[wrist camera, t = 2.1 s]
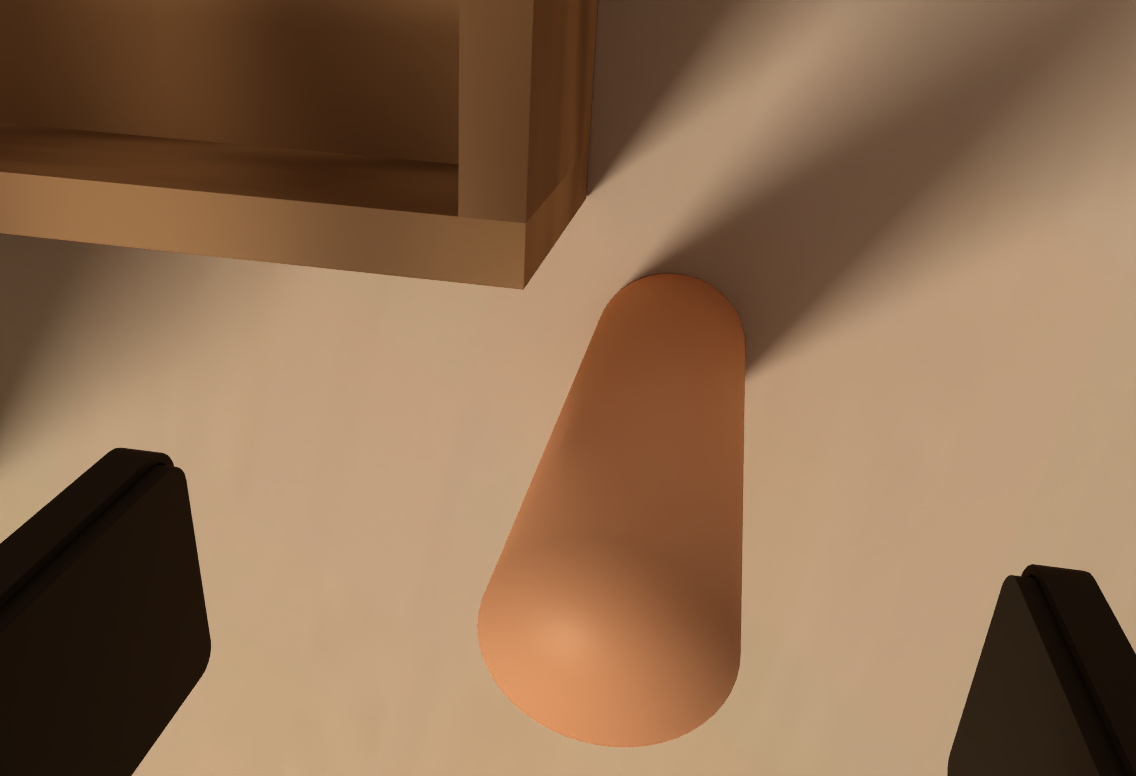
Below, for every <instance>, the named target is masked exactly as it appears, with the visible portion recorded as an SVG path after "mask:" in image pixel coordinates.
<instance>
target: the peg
mask: <svg viewBox="0 0 1136 776" xmlns="http://www.w3.org/2000/svg"><path fill="white" fill-rule="evenodd" d="M744 398H745V335H744V330H743V326H742V323H741V320H740V318H739V316H738V314H737V312H736V310H735V308H734V307H733V306H732V304H731V303H730V302H729V300H728V299H727V298H726V297H725V296H724V295H723V294H722V293H721V292H719V291H718V290H717V289H716V288H714V287H713V286H711V285H709V284H708V283H706V282H704V281H701V280H699V279H697V278H694V277H690V276H687V275H681V274H669V273H666V274H656V275H651V276H647V277H644V278H641V279H638V280H636V281H634V282H632V283H630V284H629V285H627V286H626V287H624V288H623V289H621V290H620V291H619V292H618V293H617V294H616V295H615V296H614V297H613V298H612V299H611V300H610V302H609V303H608V304H607V306H606V308H605V309H604V311H603V313H602V315H601V317H600V320H599V322H598V324H597V327H596V329H595V332H594V334H593V336H592V339H591V341H590V344H589V346H588V348H587V351H586V353H585V355H584V358H583V360H582V363H581V365H580V367H579V370H578V372H577V374H576V377H575V379H574V382H573V384H572V386H571V389H570V391H569V393H568V396H567V398H566V401H565V403H564V405H563V408H562V410H561V413H560V415H559V417H558V420H557V422H556V424H555V427H554V429H553V432H552V434H551V436H550V439H549V441H548V443H547V446H546V448H545V451H544V453H543V455H542V458H541V460H540V463H539V465H538V467H537V470H536V472H535V474H534V477H533V479H532V482H531V484H530V486H529V489H528V491H527V493H526V496H525V498H524V501H523V503H522V505H521V508H520V510H519V512H518V515H517V517H516V520H515V522H514V524H513V527H512V529H511V532H510V534H509V536H508V539H507V541H506V543H505V546H504V548H503V551H502V553H501V555H500V558H499V560H498V562H497V565H496V567H495V570H494V572H493V574H492V577H491V579H490V582H489V584H488V586H487V589H486V591H485V593H484V596H483V598H482V602H481V606H480V609H479V616H478V639H479V644H480V649H481V653H482V656H483V658H484V661H485V664H486V666H487V668H488V670H489V672H490V674H491V676H492V677H493V679H494V681H495V682H496V683H497V685H498V686H499V688H500V689H501V690H502V692H503V693H504V694H505V695H506V696H507V697H508V698H509V699H510V700H511V702H512V703H514V704H515V705H516V706H517V707H518V708H519V709H520V710H521V711H523V712H524V713H525V714H527V715H528V716H529V717H531V718H532V719H534V720H535V721H536V722H538V723H540V724H542V725H543V726H545V727H547V728H549V729H551V730H553V731H555V732H557V733H560V734H562V735H564V736H567V737H570V738H573V739H576V740H579V741H582V742H586V743H591V744H595V745H602V746H610V747H639V746H648V745H653V744H658V743H663V742H666V741H669V740H672V739H675V738H678V737H680V736H682V735H684V734H687V733H689V732H691V731H692V730H694V729H695V728H697V727H699V726H700V725H702V724H703V723H704V722H706V721H707V720H708V719H709V718H710V717H712V716H713V715H714V714H715V713H716V712H717V711H718V709H719V708H720V707H721V706H722V705H723V704H724V702H725V700H726V699H727V697H728V696H729V694H730V693H731V691H732V688H733V686H734V684H735V681H736V678H737V674H738V670H739V666H740V653H741V593H742V528H743V463H744Z"/></svg>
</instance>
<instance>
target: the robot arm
mask: <svg viewBox="0 0 1136 776" xmlns="http://www.w3.org/2000/svg"><path fill="white" fill-rule="evenodd" d="M210 652H211V640H210V633H209V627H208V620H207V613H206V607H205V600H204V594H203V587H202V581H201V574H200V567H199V561H198V554H197V548H196V541H195V534H194V528H193V521H192V515H191V508H190V501H189V495H188V488H187V482H186V477H185V474H184V472H183V471H182V469H180V468H178V467H174V464H173V462H172V460H171V459H170V457H169V456H168V455H166V454H164V453H158V452H151V451H143V450H135V449H127V448H115V449H113V450H112V451H110V452H108V453H107V454H106V455H105V456H104V457H102V458H101V459H100V460H99V461H98V462H96V463H95V464H94V465H93V466H92V467H91V468H89V469H88V470H87V471H86V472H85V473H83V474H82V475H81V476H80V477H79V478H78V479H76V480H75V481H74V482H73V483H72V484H70V485H69V486H68V487H67V488H66V489H65V490H63V491H62V492H61V493H60V494H59V495H57V496H56V497H55V498H54V499H53V500H52V501H50V502H49V503H48V504H47V505H46V506H44V507H43V508H42V509H41V510H40V511H39V512H37V513H36V514H35V515H34V516H33V517H31V518H30V519H29V520H28V521H27V522H26V523H24V524H23V525H22V526H21V527H20V528H18V529H17V530H16V531H15V532H14V533H12V534H11V535H10V536H9V537H8V538H7V539H5V540H4V541H3V542H2V543H1V544H0V776H131V775H132V774H133V773H134V771H135V770H136V768H137V767H138V766H139V764H140V763H141V761H142V760H143V759H144V757H145V756H146V754H147V753H148V751H149V750H150V749H151V747H152V746H153V744H154V743H155V742H156V740H157V739H158V737H159V736H160V735H161V733H162V732H163V730H164V729H165V727H166V726H167V725H168V723H169V722H170V720H171V719H172V718H173V716H174V715H175V713H176V712H177V711H178V709H179V708H180V706H181V705H182V703H183V702H184V701H185V699H186V698H187V696H188V695H189V694H190V692H191V691H192V689H193V688H194V687H195V685H196V684H197V682H198V681H199V679H200V678H201V677H202V675H203V673H204V672H205V670H206V667H207V665H208V662H209V658H210ZM948 776H1136V654H1135V652H1134V650H1133V648H1132V647H1131V645H1130V643H1129V641H1128V639H1127V637H1126V636H1125V634H1124V632H1123V630H1122V628H1121V626H1120V625H1119V623H1118V621H1117V619H1116V617H1115V615H1114V614H1113V612H1112V610H1111V608H1110V606H1109V604H1108V603H1107V601H1106V599H1105V597H1104V595H1103V593H1102V592H1101V590H1100V588H1099V586H1098V584H1097V582H1096V581H1095V579H1094V578H1093V576H1092V575H1091V574H1090V573H1088V572H1086V571H1081V570H1073V569H1065V568H1058V567H1050V566H1042V565H1034V564H1032V565H1029V566H1027V567H1026V569H1025V570H1024V571H1023V573H1022V576H1013V575H1010V576H1008V577H1007V578H1006V579H1005V580H1004V583H1003V585H1002V588H1001V591H1000V594H999V598H998V601H997V604H996V607H995V610H994V614H993V617H992V620H991V623H990V627H989V630H988V633H987V636H986V639H985V643H984V646H983V649H982V652H981V656H980V659H979V662H978V665H977V668H976V672H975V675H974V678H973V681H972V685H971V688H970V691H969V694H968V697H967V701H966V704H965V707H964V710H963V714H962V717H961V720H960V723H959V726H958V730H957V733H956V736H955V739H954V743H953V746H952V749H951V752H950V756H949V761H948Z"/></svg>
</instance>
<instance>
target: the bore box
mask: <svg viewBox="0 0 1136 776" xmlns="http://www.w3.org/2000/svg"><path fill="white" fill-rule="evenodd" d="M597 12H598V0H0V233H3V234H12V235H21V236H31V237H40V238H49V239H59V240H68V241H77V242H87V243H96V244H105V245H114V246H124V247H133V248H142V249H152V250H161V251H170V252H179V253H189V254H198V255H207V256H217V257H226V258H235V259H245V260H254V261H263V262H272V263H282V264H291V265H300V266H310V267H319V268H328V269H337V270H347V271H356V272H365V273H375V274H384V275H393V276H402V277H412V278H421V279H430V280H440V281H449V282H458V283H468V284H477V285H486V286H495V287H505V288H514V289H524V288H525V286H526V285H527V284H528V282H529V281H530V279H531V278H532V276H533V275H534V273H535V272H536V270H537V269H538V268H539V266H540V265H541V263H542V262H543V260H544V259H545V257H546V256H547V254H548V253H549V252H550V250H551V249H552V247H553V246H554V244H555V243H556V241H557V240H558V238H559V237H560V236H561V234H562V233H563V231H564V230H565V228H566V227H567V225H568V224H569V222H570V221H571V220H572V218H573V217H574V215H575V214H576V212H577V211H578V209H579V208H580V206H581V205H582V204H583V202H584V201H585V199H586V191H587V175H588V159H589V142H590V126H591V110H592V93H593V77H594V61H595V45H596V28H597Z"/></svg>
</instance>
